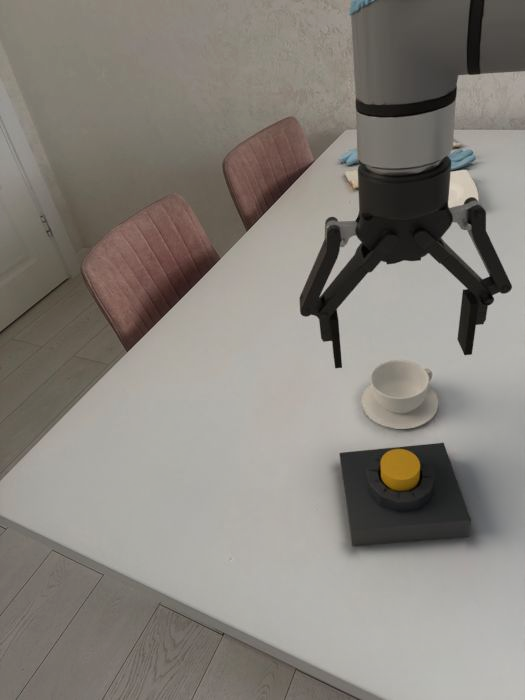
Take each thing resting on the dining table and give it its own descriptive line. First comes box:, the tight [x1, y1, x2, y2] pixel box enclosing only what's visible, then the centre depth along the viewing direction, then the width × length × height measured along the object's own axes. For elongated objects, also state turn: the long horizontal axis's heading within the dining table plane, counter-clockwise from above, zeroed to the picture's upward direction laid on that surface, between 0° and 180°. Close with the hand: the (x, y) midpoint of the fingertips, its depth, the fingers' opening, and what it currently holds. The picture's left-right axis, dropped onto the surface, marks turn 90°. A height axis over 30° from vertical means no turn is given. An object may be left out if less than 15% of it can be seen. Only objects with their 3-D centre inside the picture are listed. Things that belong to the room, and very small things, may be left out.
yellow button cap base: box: [339, 442, 472, 547], centre depth 55 cm, size 12×10×5 cm
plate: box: [448, 169, 480, 208], centre depth 113 cm, size 20×20×3 cm
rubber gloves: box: [339, 140, 477, 190], centre depth 132 cm, size 27×33×6 cm
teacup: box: [361, 359, 439, 430], centre depth 66 cm, size 10×10×5 cm
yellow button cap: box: [381, 449, 420, 491], centre depth 53 cm, size 4×4×2 cm
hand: (400, 353), depth 54 cm, fingers open, 13 cm apart
